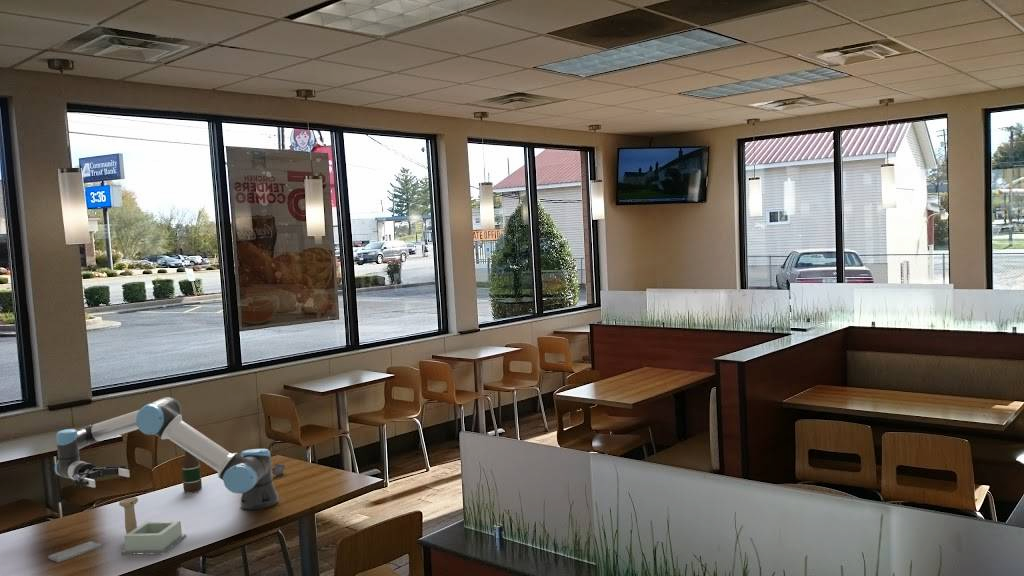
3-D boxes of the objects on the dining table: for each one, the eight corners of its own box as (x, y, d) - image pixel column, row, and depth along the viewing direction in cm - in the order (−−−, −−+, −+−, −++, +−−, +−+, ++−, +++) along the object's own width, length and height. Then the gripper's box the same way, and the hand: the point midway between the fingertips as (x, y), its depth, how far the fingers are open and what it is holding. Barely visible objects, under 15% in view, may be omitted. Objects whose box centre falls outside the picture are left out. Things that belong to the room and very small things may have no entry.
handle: (120, 540, 304) (116, 501, 303) (137, 534, 309) (133, 496, 308) (126, 542, 301) (123, 503, 300) (143, 537, 306) (139, 498, 305)
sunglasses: (257, 483, 367) (256, 472, 367) (239, 481, 378) (237, 470, 378) (289, 473, 379) (287, 463, 379) (270, 471, 391) (269, 461, 391)
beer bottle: (195, 493, 357) (190, 440, 355) (180, 493, 358) (175, 440, 356) (205, 487, 364) (201, 435, 362) (190, 487, 366) (185, 435, 364)
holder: (186, 536, 304) (184, 519, 303) (163, 553, 288) (161, 536, 288) (146, 537, 306) (144, 520, 305) (121, 554, 290) (119, 537, 289)
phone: (102, 548, 299) (102, 544, 299) (57, 563, 286) (57, 560, 286) (92, 543, 304) (91, 540, 304) (47, 559, 291) (47, 556, 291)
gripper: (113, 472, 331) (143, 478, 320) (51, 490, 311) (80, 498, 299) (112, 454, 331) (141, 460, 319) (49, 471, 310) (78, 478, 298)
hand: (111, 478), depth 309 cm, fingers open, 13 cm apart
